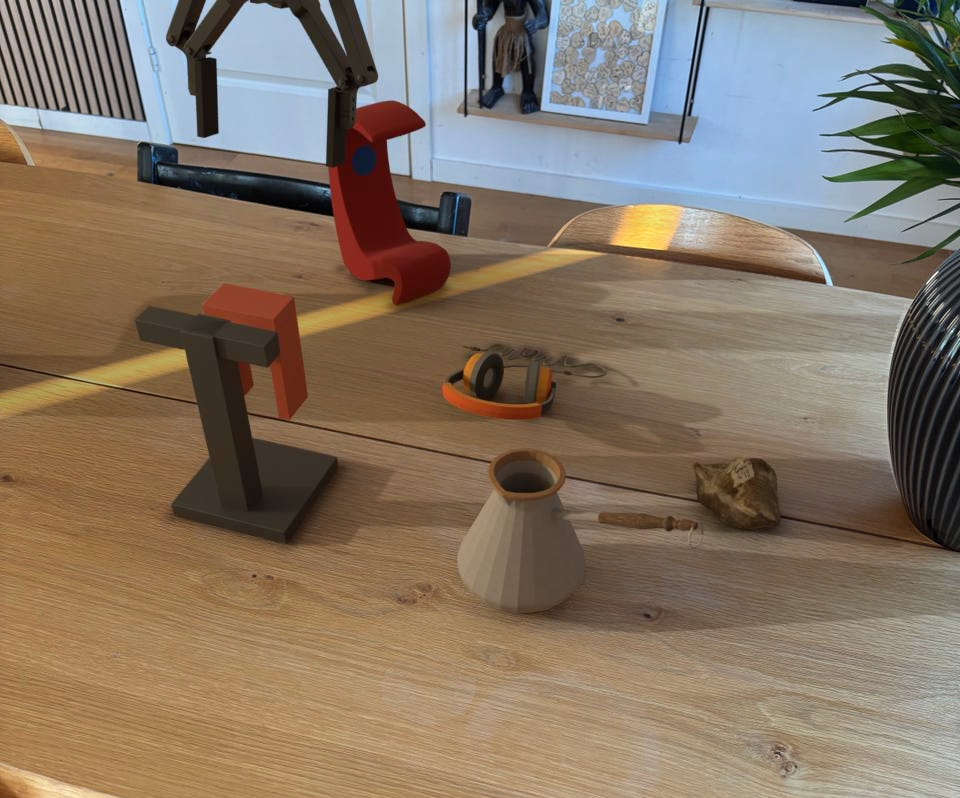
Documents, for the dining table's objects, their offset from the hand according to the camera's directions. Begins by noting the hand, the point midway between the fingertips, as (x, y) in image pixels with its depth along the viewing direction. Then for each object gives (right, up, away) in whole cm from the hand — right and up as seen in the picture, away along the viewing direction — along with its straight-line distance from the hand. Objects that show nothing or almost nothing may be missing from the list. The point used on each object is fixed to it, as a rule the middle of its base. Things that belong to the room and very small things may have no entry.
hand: (271, 150), depth 97 cm
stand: (-2, -32, +3) cm, 33 cm away
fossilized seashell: (+45, -35, +2) cm, 57 cm away
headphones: (+24, -20, +14) cm, 35 cm away
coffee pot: (+28, -44, -7) cm, 53 cm away
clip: (0, -24, 0) cm, 24 cm away
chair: (+9, -2, +31) cm, 32 cm away
